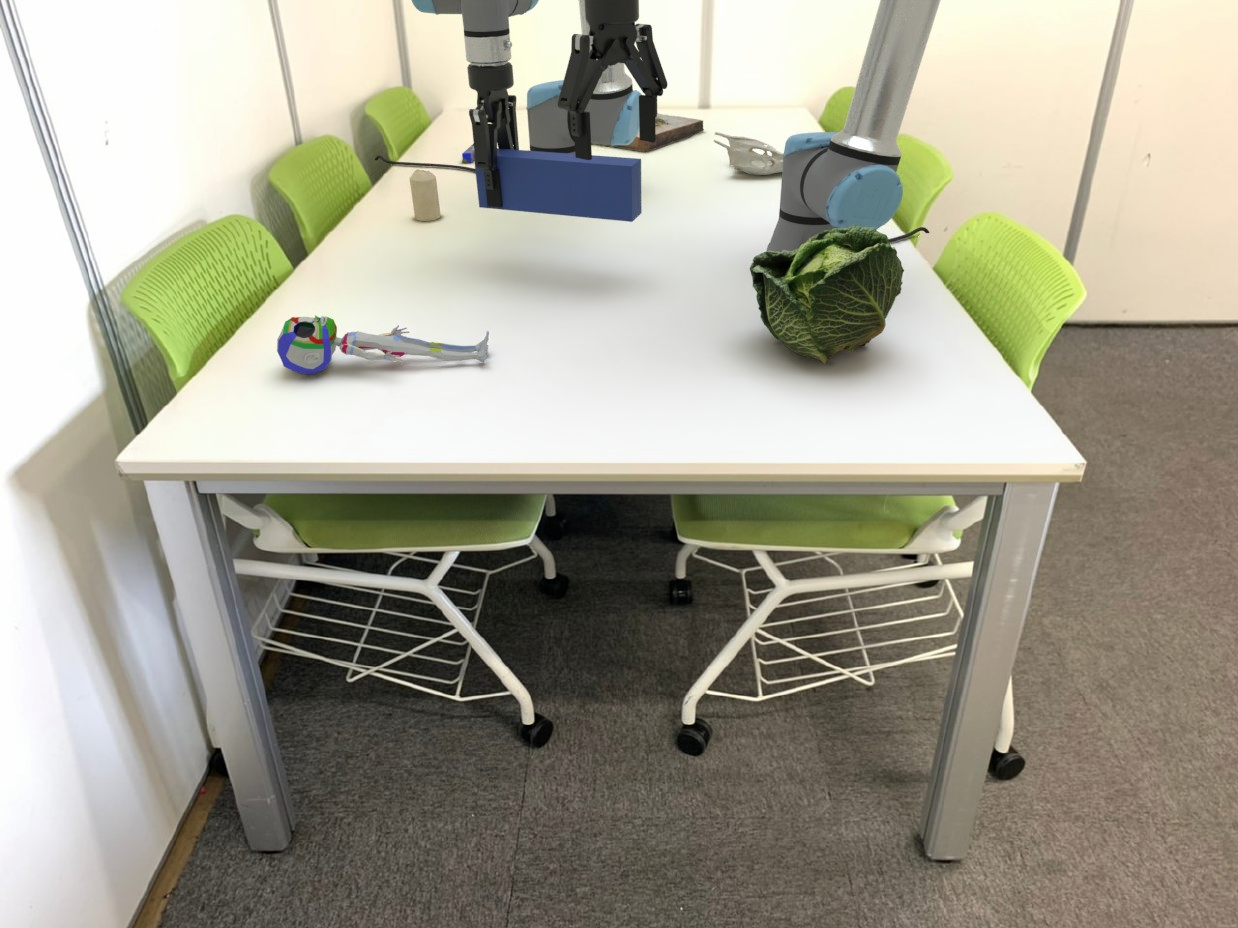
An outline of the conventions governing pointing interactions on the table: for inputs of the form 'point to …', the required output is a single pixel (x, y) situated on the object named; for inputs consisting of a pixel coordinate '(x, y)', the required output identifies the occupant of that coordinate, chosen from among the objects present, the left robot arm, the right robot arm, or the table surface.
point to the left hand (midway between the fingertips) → (502, 201)
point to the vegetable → (828, 290)
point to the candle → (425, 195)
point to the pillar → (468, 154)
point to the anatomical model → (752, 156)
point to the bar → (567, 184)
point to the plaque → (666, 132)
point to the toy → (358, 345)
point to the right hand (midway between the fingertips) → (616, 149)
